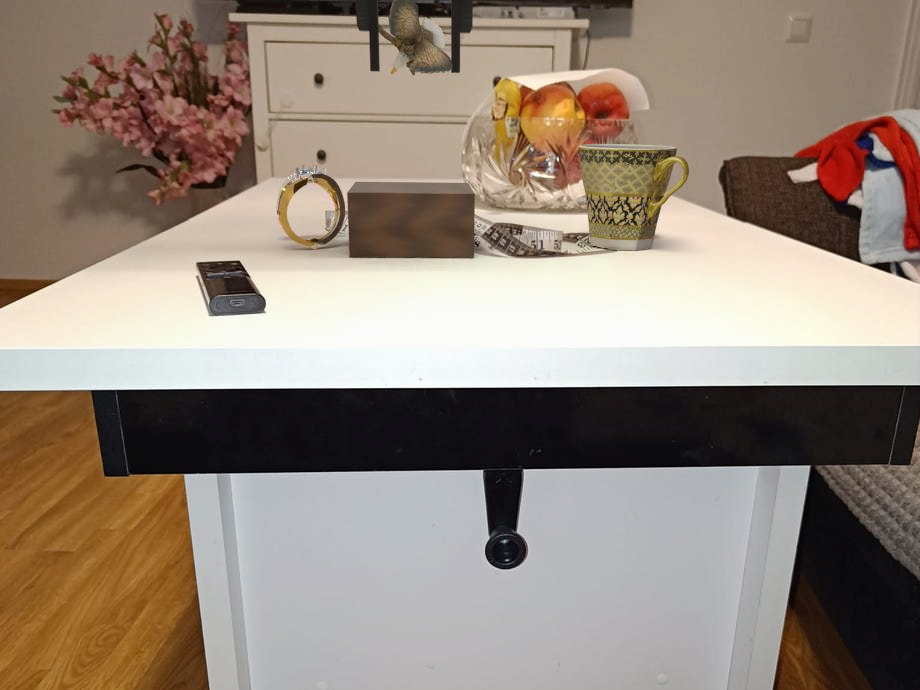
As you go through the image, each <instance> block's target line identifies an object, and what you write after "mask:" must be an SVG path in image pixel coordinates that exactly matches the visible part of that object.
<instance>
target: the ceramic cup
mask: <svg viewBox="0 0 920 690" xmlns="http://www.w3.org/2000/svg"><path fill="white" fill-rule="evenodd" d="M677 151H678V148H677V147H676V146H669V145H657V144H656V145H655V144H635V143H634V144H630V143H629V144H628V143H627V144H626V143H595V144H594V143H589V144H587V143H586V144H580V145H578V155H579V156H578V157H579V158H578V159H579V167H580V168H579V169H580V176H581V180H582V181H581V182H582V185H583V189H584V194H585V200H586V201H585V202H586V210H587V220H588V221H587V222H588V232H589V241H590V245H591V247H592V246H597V247H603V248H608V249H607V250H610V251H643V250H648V249H649V250H650V249H651V248H652V247H653V243H654V238H655V234H656V231H657V230H656V229H657V227H658V226H657V225H658V221H659V218H660V214H661V210H662V206H663V205H664V204H665V203H666V202H667V201H668V199H669V198H670V197H671V196H673V194H674V193H676V192H678V190H680V189H681V188H682V187H683V186H684V185H685V184H686V183H687V180H688V179H689V174H690V168H689V163H688V161H687V160H686V158H684V157H683V156H678V155H677V153H678V152H677ZM676 163H678V164H680V165H681V167H682V170H683V173H682V178H681V180H680V181H679V182H678V183H677V184H676V185H675V186H674V187H672V188H671V189H670V190H669V191H667V190H668V186H669V183H670V180H671V176H672V173H673V168H674V165H675V164H676ZM597 247H596V248H597ZM603 248H602V249H603Z"/></svg>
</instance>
